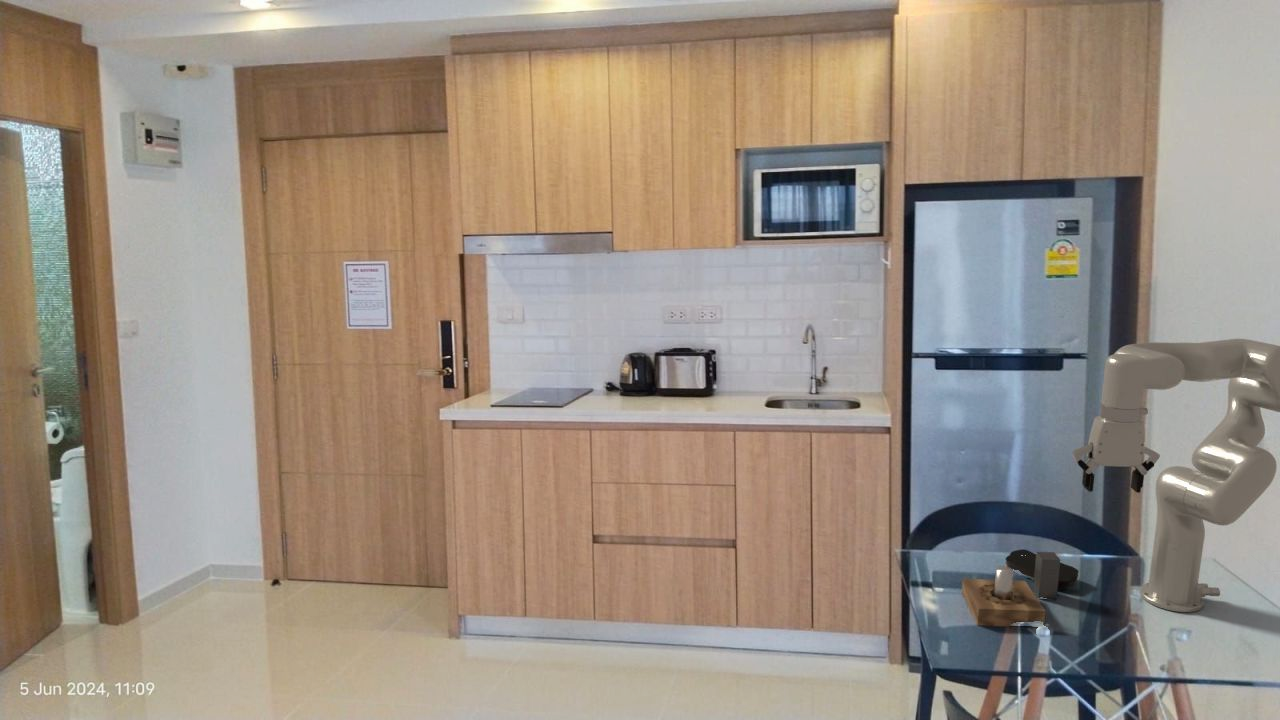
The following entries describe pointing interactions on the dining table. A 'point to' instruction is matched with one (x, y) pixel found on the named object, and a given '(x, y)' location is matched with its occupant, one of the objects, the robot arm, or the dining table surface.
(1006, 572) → the round bit
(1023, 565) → the black sponge
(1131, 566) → the dining table surface
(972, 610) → the socket block
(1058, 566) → the square bit
